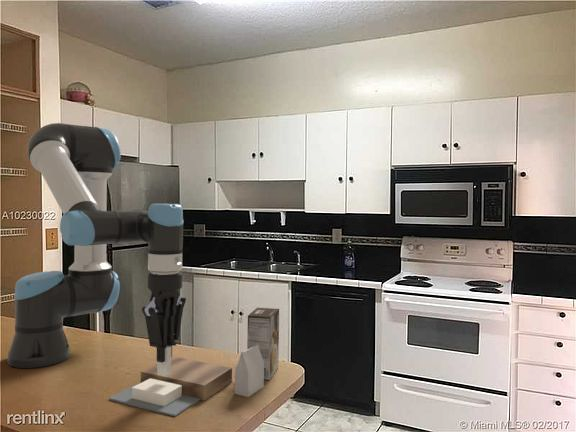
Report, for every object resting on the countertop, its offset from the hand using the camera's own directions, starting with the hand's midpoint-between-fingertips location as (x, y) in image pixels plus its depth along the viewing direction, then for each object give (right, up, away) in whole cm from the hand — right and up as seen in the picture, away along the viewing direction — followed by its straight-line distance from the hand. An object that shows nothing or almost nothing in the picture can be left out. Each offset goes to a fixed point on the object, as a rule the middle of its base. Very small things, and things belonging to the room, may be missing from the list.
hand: (164, 374), depth 108 cm
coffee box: (+22, -5, +15) cm, 27 cm away
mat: (-1, -5, -3) cm, 6 cm away
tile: (-1, -4, -2) cm, 5 cm away
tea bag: (+19, -5, +4) cm, 20 cm away
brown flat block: (+4, -5, +7) cm, 9 cm away
